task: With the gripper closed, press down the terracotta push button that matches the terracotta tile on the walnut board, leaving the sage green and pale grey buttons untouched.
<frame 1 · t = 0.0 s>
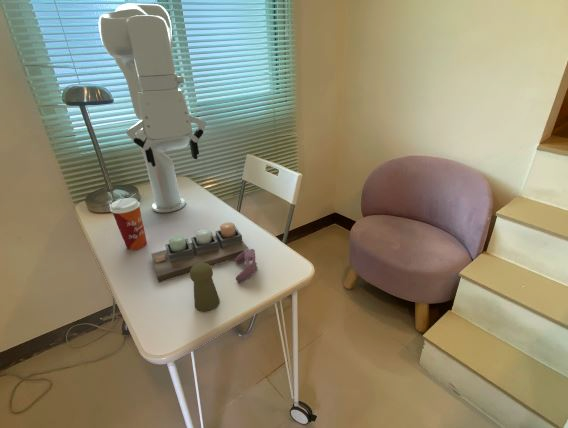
hand: (174, 161, 75), 31 cm above the table, tool pointing down, fingers open, 9 cm apart
grey button: (203, 237, 93), point 6 cm above the table, slide at 0.0 cm
sage button: (177, 244, 90), point 6 cm above the table, slide at 0.0 cm
terracotta button: (227, 230, 96), point 6 cm above the table, slide at 0.0 cm
button board: (201, 256, 94), on the table
olive green skittle: (207, 303, 77), on the table
coffee cup: (137, 245, 101), on the table
video game controller: (246, 271, 87), on the table
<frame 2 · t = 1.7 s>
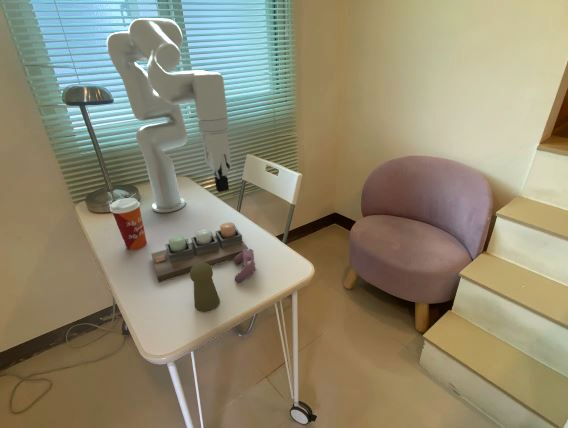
hand: (222, 190, 90), 19 cm above the table, tool pointing down, fingers closed
nothing on the table moved.
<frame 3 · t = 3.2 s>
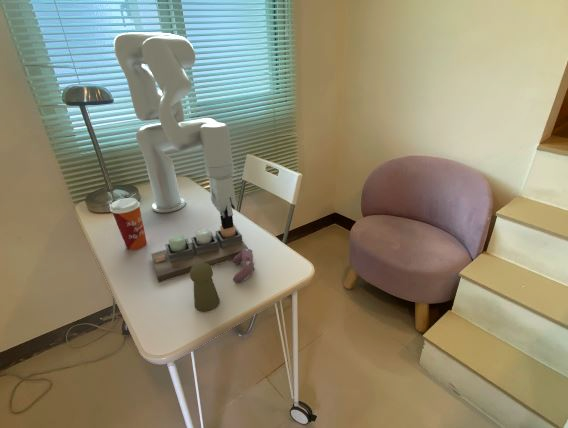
hand: (227, 226, 95), 7 cm above the table, tool pointing down, fingers closed
terracotta button: (228, 231, 96), point 5 cm above the table, slide at 0.2 cm, touching gripper
everything else where it was.
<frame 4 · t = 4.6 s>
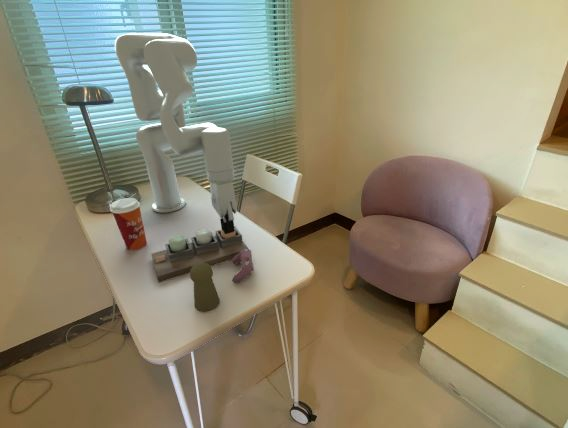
hand: (228, 230, 96), 6 cm above the table, tool pointing down, fingers closed
terracotta button: (228, 234, 97), point 4 cm above the table, slide at 1.6 cm, touching gripper
everything else where it was.
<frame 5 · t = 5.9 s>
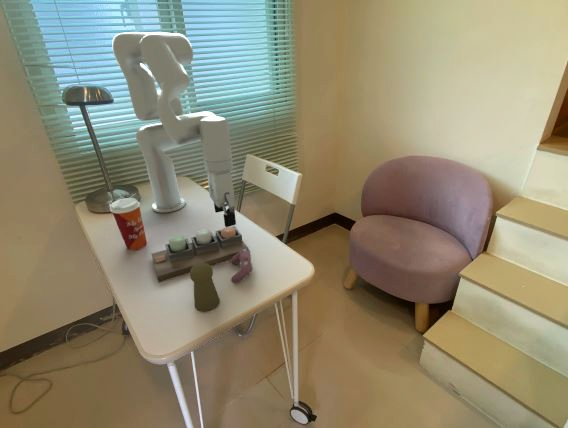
hand: (225, 218, 95), 10 cm above the table, tool pointing down, fingers open, 9 cm apart
terracotta button: (228, 234, 97), point 4 cm above the table, slide at 1.6 cm
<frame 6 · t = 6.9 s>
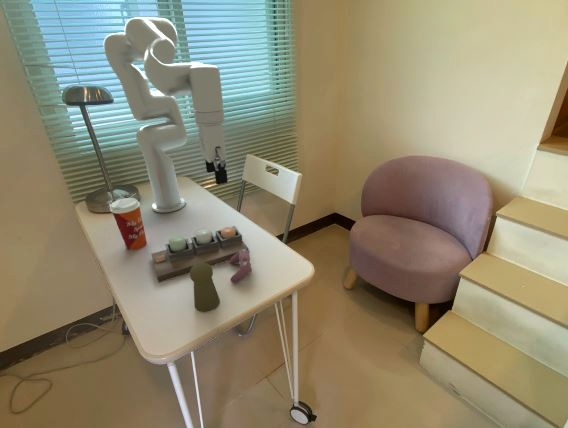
hand: (216, 177, 91), 22 cm above the table, tool pointing down, fingers open, 9 cm apart
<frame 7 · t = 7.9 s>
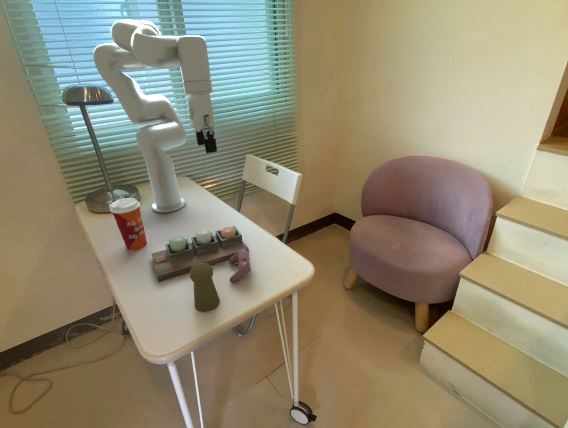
hand: (207, 148, 95), 28 cm above the table, tool pointing down, fingers open, 9 cm apart
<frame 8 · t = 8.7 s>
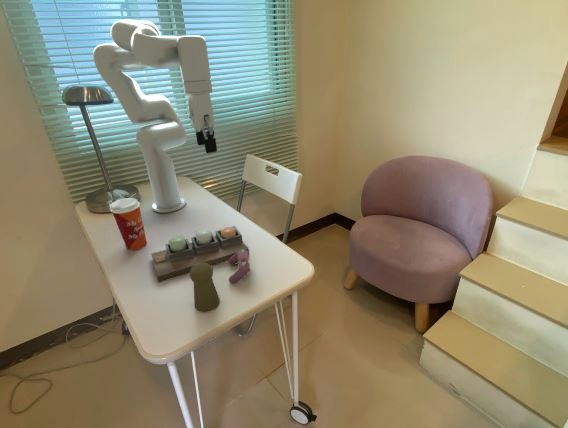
hand: (207, 148, 95), 28 cm above the table, tool pointing down, fingers open, 9 cm apart
at the end: terracotta button slide at 1.6 cm; grey button slide at 0.0 cm; sage button slide at 0.0 cm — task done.
